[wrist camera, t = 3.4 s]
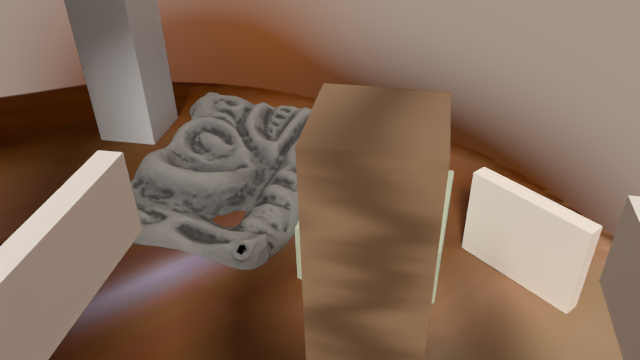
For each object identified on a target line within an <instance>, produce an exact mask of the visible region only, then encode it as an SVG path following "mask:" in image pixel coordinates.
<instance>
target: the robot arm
mask: <svg viewBox="0 0 640 360" xmlns="http://www.w3.org/2000/svg"><path fill="white" fill-rule="evenodd" d="M141 231H142V227H141V223H140V219H139V215H138V211H137V207H136V203H135V199H134V195H133V191H132V187H131V183H130V179H129V175H128V171H127V167H126V163H125V159H124V155H123V152H112V151H101V150H98V151H97V152H96V153H95V154H94V155H93V156H92V157H91V158H90V159H89V160H88V161H86V162H85V163H84V164H83V165H82V166H81V167H80V168H79V169H78V170H77V171H76V172H75V173H74V174H73V175H72V176H71V177H70V178H69V179H68V180H67V181H66V182H65V183H64V184H63V185H62V186H61V187H60V188H59V189H58V190H57V191H56V192H55V193H54V194H53V195H52V196H51V197H50V198H49V199H48V200H47V201H46V202H45V203H44V204H43V205H42V206H41V207H40V208H39V209H38V210H37V211H36V212H35V213H34V214H33V215H32V216H31V217H30V218H29V219H28V220H27V221H26V222H25V223H24V224H23V225H22V226H21V227H19V228H18V229H17V230H16V231H15V232H14V233H13V234H12V235H11V236H10V237H9V238H8V239H7V240H6V241H5V242H4V243H3V244H0V360H48V359H49V358H50V357H51V355H52V354H53V353H54V351H55V350H56V348H57V347H58V346H59V344H60V343H61V341H62V340H63V339H64V337H65V336H66V335H67V333H68V332H69V330H70V329H71V328H72V326H73V325H74V324H75V322H76V321H77V319H78V318H79V317H80V315H81V314H82V312H83V311H84V310H85V308H86V307H87V306H88V304H89V303H90V301H91V300H92V299H93V297H94V296H95V295H96V293H97V292H98V290H99V289H100V288H101V286H102V285H103V283H104V282H105V281H106V279H107V278H108V277H109V275H110V274H111V272H112V271H113V270H114V268H115V267H116V266H117V264H118V263H119V261H120V260H121V259H122V257H123V256H124V254H125V253H126V252H127V250H128V249H129V248H130V246H131V245H132V243H133V242H134V241H135V239H136V238H137V236H138V235H139V234H140V232H141ZM599 281H600V284H601V287H602V290H603V294H604V297H605V300H606V304H607V307H608V310H609V314H610V317H611V320H612V324H613V327H614V330H615V333H616V337H617V340H618V343H619V347H620V350H621V353H622V357H623V360H640V197H639V196H628V197H627V200H626V203H625V206H624V209H623V212H622V215H621V218H620V221H619V224H618V227H617V230H616V233H615V236H614V239H613V242H612V245H611V248H610V250H609V253H608V256H607V259H606V262H605V265H604V268H603V271H602V274H601V277H600V280H599Z"/></svg>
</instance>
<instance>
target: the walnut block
mask: <svg viewBox="0 0 640 360" xmlns="http://www.w3.org/2000/svg"><path fill="white" fill-rule="evenodd" d="M450 119H451V92H450V91H435V90H418V89H404V88H388V87H372V86H357V85H342V84H327V83H324V84H323V86H322V88H321V90H320V92H319V95H318V97H317V99H316V101H315V104H314V106H313V108H312V110H311V112H310V115H309V117H308V119H307V121H306V124H305V126H304V128H303V130H302V132H301V135H300V137H299V139H298V141H297V144H296V146H295V151H296V171H297V191H298V211H299V231H300V251H301V271H302V291H303V311H304V331H305V351H306V360H424V358H425V350H426V342H427V334H428V327H429V319H430V311H431V303H432V296H433V288H434V280H435V272H436V265H437V257H438V249H439V241H440V234H441V226H442V218H443V210H444V203H445V195H446V187H447V179H448V172H449V164H450V123H451V122H450V121H451V120H450Z"/></svg>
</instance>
